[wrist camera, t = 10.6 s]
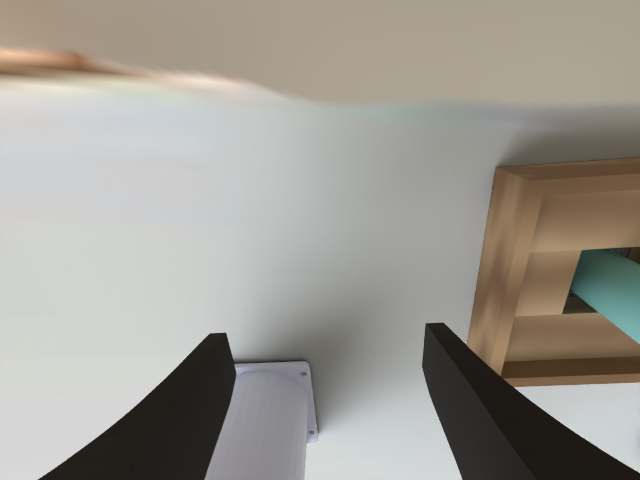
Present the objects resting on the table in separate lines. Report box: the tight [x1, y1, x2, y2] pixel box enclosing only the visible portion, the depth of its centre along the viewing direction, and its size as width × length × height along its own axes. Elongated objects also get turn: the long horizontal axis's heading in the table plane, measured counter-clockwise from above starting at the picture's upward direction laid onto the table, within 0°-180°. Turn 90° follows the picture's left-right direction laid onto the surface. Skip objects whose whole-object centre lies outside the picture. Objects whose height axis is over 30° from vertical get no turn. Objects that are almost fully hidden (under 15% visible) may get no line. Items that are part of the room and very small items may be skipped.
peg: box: [569, 248, 640, 344], centre depth 17 cm, size 3×3×6 cm
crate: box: [467, 157, 640, 387], centre depth 19 cm, size 14×14×3 cm
